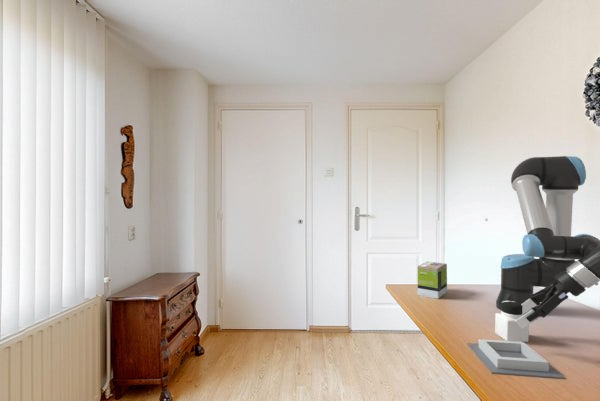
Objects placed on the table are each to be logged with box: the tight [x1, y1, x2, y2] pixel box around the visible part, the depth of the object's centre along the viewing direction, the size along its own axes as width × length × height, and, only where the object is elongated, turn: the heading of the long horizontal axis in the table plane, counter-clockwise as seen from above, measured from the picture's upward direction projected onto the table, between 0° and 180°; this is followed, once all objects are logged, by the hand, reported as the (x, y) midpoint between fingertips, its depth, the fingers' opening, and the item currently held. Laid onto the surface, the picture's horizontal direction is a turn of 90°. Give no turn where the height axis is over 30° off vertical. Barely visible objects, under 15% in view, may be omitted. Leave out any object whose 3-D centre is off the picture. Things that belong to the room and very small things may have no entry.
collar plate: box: [466, 338, 566, 380], centre depth 97 cm, size 18×18×4 cm
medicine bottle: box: [494, 301, 530, 343], centre depth 113 cm, size 7×7×12 cm
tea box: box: [417, 261, 448, 300], centre depth 164 cm, size 15×10×15 cm
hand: (517, 318), depth 111 cm, fingers open, 13 cm apart
